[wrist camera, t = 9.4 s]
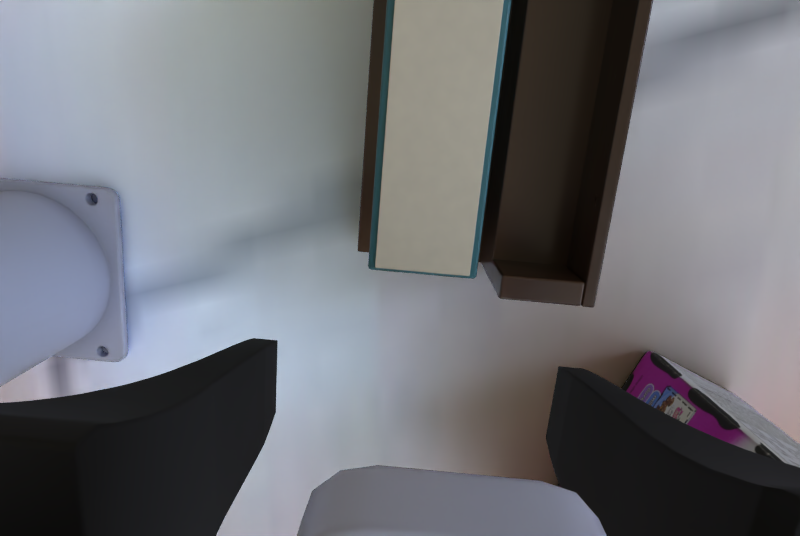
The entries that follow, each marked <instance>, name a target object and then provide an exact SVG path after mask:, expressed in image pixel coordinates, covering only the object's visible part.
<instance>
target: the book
mask: <svg viewBox="0 0 800 536" xmlns="http://www.w3.org/2000/svg"><path fill="white" fill-rule="evenodd" d="M510 8H511V0H387V7H386V21H385V35H384V49H383V64H382V78H381V92H380V106H379V120H378V135H377V149H376V163H375V177H374V191H373V206H372V220H371V234H370V248H369V262H368V267H369V269H371V270H382V271H393V272H404V273H415V274H426V275H438V276H449V277H460V278H471V279H474V278H475V277H476V274H477V267H478V259H479V251H480V243H481V235H482V227H483V220H484V212H485V204H486V196H487V188H488V180H489V172H490V165H491V157H492V149H493V141H494V133H495V125H496V118H497V110H498V102H499V94H500V86H501V78H502V70H503V63H504V55H505V47H506V39H507V31H508V23H509V16H510Z"/></svg>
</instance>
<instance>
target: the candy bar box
mask: <svg viewBox="0 0 800 536" xmlns="http://www.w3.org/2000/svg"><path fill="white" fill-rule="evenodd" d="M622 389H623V390H624V391H626V392H628V393H630V394H631V395H633V396H635V397H636V398H638V399H640V400H642V401H643V402H645V403H647V404H649V405H651V406H652V407H654V408H656V409H658V410H660V411H662V412H664V413H665V414H667V415H669V416H671V417H673V418H675V419H677V420H679V421H681V422H683V423H685V424H687V425H689V426H691V427H693V428H695V429H698V430H700V431H702V432H704V433H707V434H709V435H711V436H714V437H716V438H718V439H721V440H723V441H725V442H728V443H730V444H733V445H735V446H738V447H741V448H743V449H746V450H749V451H752V452H754V453H757V454H760V455H763V456H766V457H769V458H771V459H774V460H777V461H780V462H783V463H787V464H790V465H793V466H796V467H799V468H800V444H799V443H798V442H796V441H795V440H794V439H792V438H791V437H790V436H788V435H787V434H786V433H785V432H784V431H782V430H781V429H780V428H779V427H777V426H776V425H775V424H773V423H772V422H771V421H769V420H768V419H766V418H765V417H764V416H763V415H761V414H760V413H759V412H757V411H756V410H755V409H754V408H752V407H751V406H750V405H749V404H747V403H746V402H745V401H743V400H742V399H741V398H739V397H738V396H736V395H735V394H734V393H732V392H730V391H728V390H726V389H724V388H722V387H720V386H718V385H717V384H715V383H713V382H711V381H708V380H706V379H704V378H702V377H700V376H699V375H697V374H695V373H693V372H691V371H689V370H687V369H685V368H683V367H682V366H680V365H678V364H676V363H674V362H672V361H670V360H669V359H667V358H665V357H663V356H661V355H659V354H657V353H655V352H653V351H648V352H646V354H645V355H644V356H643V357H642V359H641V360H640V362H639V363H638V365H637V366H636V368H635V369H634V371H633V372H632V374H631V375H630V377H629V378H628V380H627V381H626V383H625V384H624V386H623V387H622ZM557 486H558V487H560V484H559V483H558V485H557Z"/></svg>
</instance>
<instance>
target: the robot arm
mask: <svg viewBox="0 0 800 536" xmlns="http://www.w3.org/2000/svg"><path fill="white" fill-rule="evenodd" d="M92 194H95V195H96V196H97V199H98V201H97V204H96V203H94V202H93V201H92V198H91V196H92ZM102 346H103V347H105V348H107V350H108V353H106V352H104V351H103V349H102ZM127 354H128V337H127V320H126V302H125V285H124V267H123V250H122V233H121V215H120V200H119V196H118V194H117V193H116V192H115V191H114V190H113V189H111V188H107V187H95V186H84V185H73V184H62V183H51V182H39V181H28V180H17V179H6V178H0V387H1V386H2V385H4V384H6V383H7V382H9V381H11V380H12V379H14V378H16V377H18V376H19V375H21V374H23V373H24V372H26V371H28V370H29V369H31V368H33V367H34V366H36V365H38V364H39V363H41V362H43V361H44V360H46V359H48V358H49V357H51V356H55V357H66V358H77V359H87V360H98V361H109V362H119V361H121V360H122V359H124V358H125V357H126V356H127ZM276 375H277V340H266V339H255V338H253V339H249V340H246V341H243V342H241V343H238V344H236V345H233V346H231V347H229V348H226V349H224V350H222V351H219V352H217V353H215V354H212V355H210V356H208V357H205V358H203V359H201V360H198V361H196V362H193V363H190V364H188V365H185V366H182V367H180V368H177V369H175V370H172V371H169V372H167V373H164V374H161V375H158V376H154V377H151V378H148V379H144V380H141V381H137V382H134V383H130V384H126V385H122V386H118V387H113V388H108V389H103V390H98V391H93V392H88V393H84V394H78V395H72V396H65V397H58V398H51V399H42V400H33V401H23V402H11V403H0V536H216V534H217V532H218V530H219V528H220V526H221V524H222V522H223V520H224V518H225V516H226V514H227V512H228V510H229V508H230V506H231V505H232V503H233V501H234V499H235V497H236V495H237V494H238V492H239V490H240V488H241V486H242V484H243V483H244V481H245V479H246V477H247V475H248V473H249V472H250V470H251V468H252V466H253V464H254V462H255V460H256V459H257V457H258V455H259V453H260V451H261V449H262V447H263V445H264V443H265V440H266V438H267V435H268V432H269V430H270V427H271V424H272V421H273V418H274V415H275V413H276ZM546 440H547V444H548V449H549V453H550V457H551V461H552V464H553V468H554V472H555V474H556V477H557V479H558V482H559V484H560V487H558V486H555V485H552V484H549V483H546V482H543V481H539V480H528V479H517V478H507V477H496V476H486V475H475V474H465V473H454V472H444V471H433V470H422V469H412V468H401V467H391V466H380V465H376V466H369V467H362V468H354V469H347V470H340V471H339V472H338V473H336V474H335V475H333V476H332V477H331V478H329V479H328V480H327V481H325V482H324V483H323V484H321V485H320V486H318V487H317V488H316V489H314V490H313V491H312V494H311V496H310V499H309V502H308V504H307V507H306V510H305V512H304V515H303V518H302V521H301V524H300V527H299V530H298V534H297V536H800V468H799V467H796V466H793V465H790V464H787V463H783V462H780V461H777V460H774V459H771V458H769V457H766V456H763V455H760V454H757V453H754V452H752V451H749V450H746V449H743V448H741V447H738V446H735V445H733V444H730V443H728V442H725V441H723V440H721V439H718V438H716V437H714V436H711V435H709V434H707V433H704V432H702V431H700V430H698V429H695V428H693V427H691V426H689V425H687V424H685V423H683V422H681V421H679V420H677V419H675V418H673V417H671V416H669V415H667V414H665V413H664V412H662V411H660V410H658V409H656V408H654V407H652V406H651V405H649V404H647V403H645V402H643V401H642V400H640V399H638V398H636V397H635V396H633V395H631V394H630V393H628V392H626V391H624V390H623V389H621V388H619V387H618V386H616V385H614V384H612V383H611V382H609V381H607V380H605V379H604V378H602V377H600V376H598V375H596V374H594V373H592V372H590V371H588V370H585V369H581V368H570V367H558V373H557V378H556V384H555V389H554V395H553V401H552V406H551V412H550V417H549V423H548V429H547V434H546Z"/></svg>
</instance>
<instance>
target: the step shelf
mask: <svg viewBox="0 0 800 536" xmlns="http://www.w3.org/2000/svg"><path fill="white" fill-rule="evenodd" d="M652 4H653V0H511V8H510V16H509V23H508V31H507V39H506V47H505V55H504V63H503V70H502V78H501V86H500V94H499V102H498V110H497V118H496V125H495V133H494V141H493V149H492V157H491V165H490V172H489V180H488V188H487V196H486V204H485V212H484V220H483V227H482V235H481V243H480V251H479V259H478V262H481V264H482V266H483V268H484V270H485V272H486V274H487V276H488V277H489V279H490V281H491V283H492V285H493V287H494V289H495V291H496V293H497V295H498V297H499V298H500V299H509V300H520V301H531V302H542V303H553V304H564V305H575V306H579V305H581V306H583V307H594V305H595V300H596V295H597V289H598V284H599V279H600V274H601V269H602V263H603V258H604V253H605V248H606V243H607V237H608V232H609V227H610V222H611V217H612V211H613V206H614V201H615V196H616V191H617V185H618V180H619V175H620V170H621V165H622V159H623V154H624V149H625V144H626V139H627V134H628V128H629V123H630V118H631V113H632V108H633V102H634V97H635V92H636V87H637V82H638V76H639V71H640V66H641V61H642V56H643V50H644V45H645V40H646V35H647V30H648V24H649V19H650V14H651V9H652ZM386 7H387V0H374V4H373V19H372V35H371V50H370V66H369V81H368V97H367V112H366V128H365V144H364V159H363V175H362V190H361V206H360V221H359V237H358V251H360V252H369V248H370V234H371V220H372V206H373V191H374V177H375V163H376V149H377V135H378V120H379V106H380V92H381V78H382V64H383V49H384V35H385V21H386Z"/></svg>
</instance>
